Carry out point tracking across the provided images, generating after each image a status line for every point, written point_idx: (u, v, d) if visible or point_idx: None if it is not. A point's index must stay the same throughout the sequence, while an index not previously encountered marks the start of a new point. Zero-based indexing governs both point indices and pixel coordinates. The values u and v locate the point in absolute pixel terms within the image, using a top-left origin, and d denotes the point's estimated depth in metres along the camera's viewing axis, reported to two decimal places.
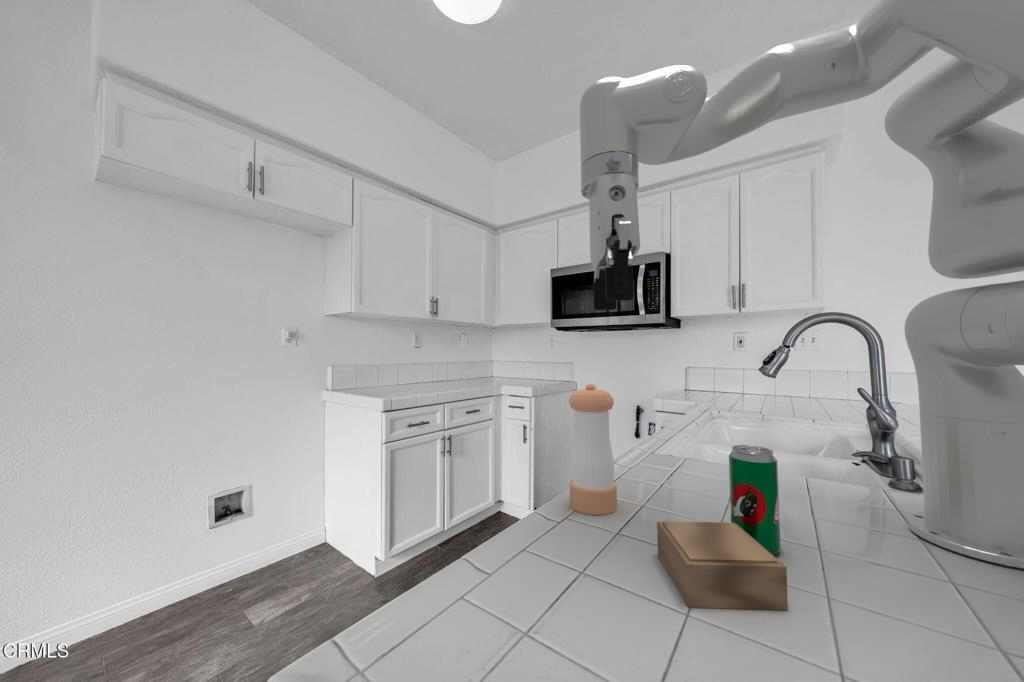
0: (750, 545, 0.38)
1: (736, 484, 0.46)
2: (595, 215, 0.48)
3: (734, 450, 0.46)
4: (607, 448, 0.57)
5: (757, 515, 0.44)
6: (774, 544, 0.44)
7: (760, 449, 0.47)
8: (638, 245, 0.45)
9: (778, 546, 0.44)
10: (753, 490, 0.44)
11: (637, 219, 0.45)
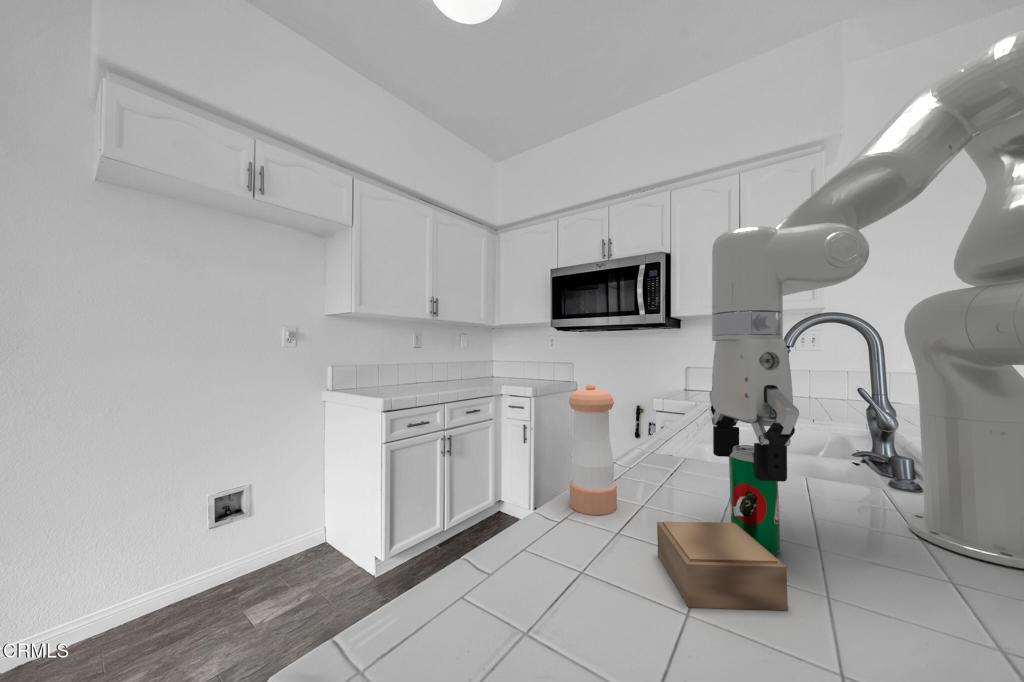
0: (750, 545, 0.38)
1: (736, 484, 0.46)
2: (738, 376, 0.44)
3: (734, 450, 0.46)
4: (607, 448, 0.57)
5: (757, 515, 0.44)
6: (774, 544, 0.44)
7: None
8: None
9: (778, 546, 0.44)
10: (753, 490, 0.44)
11: (791, 391, 0.42)
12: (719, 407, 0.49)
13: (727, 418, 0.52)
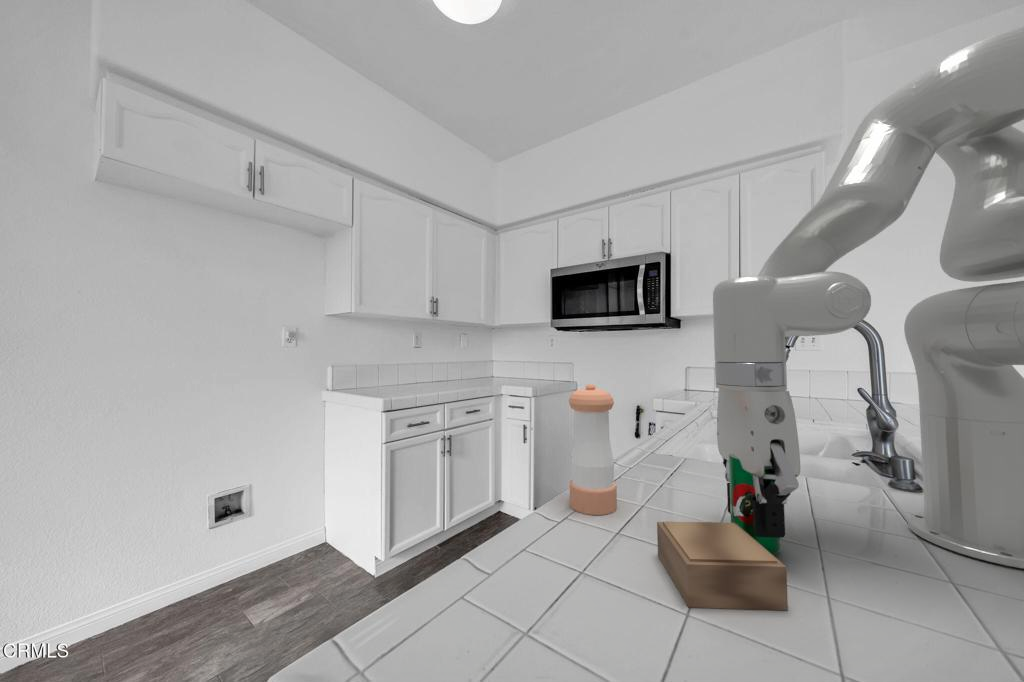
0: (750, 545, 0.38)
1: (736, 484, 0.46)
2: (743, 428, 0.44)
3: None
4: (607, 448, 0.57)
5: None
6: (774, 544, 0.44)
7: None
8: (799, 473, 0.41)
9: (778, 546, 0.44)
10: (753, 490, 0.44)
11: (798, 445, 0.41)
12: (725, 454, 0.49)
13: None
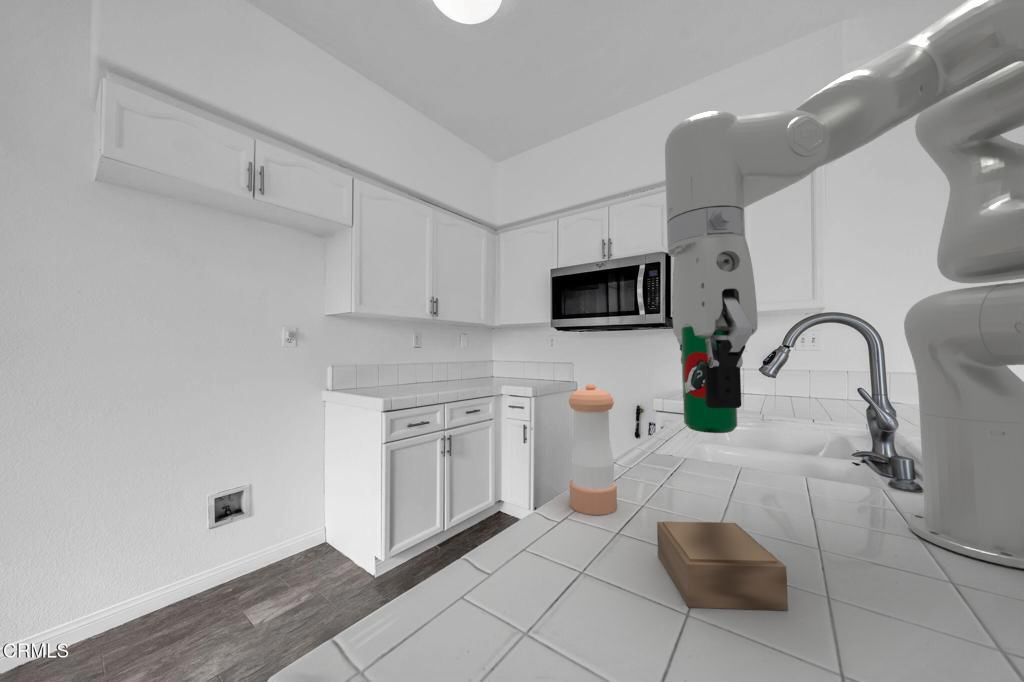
0: (750, 545, 0.38)
1: (687, 355, 0.40)
2: (694, 285, 0.38)
3: None
4: (607, 448, 0.57)
5: None
6: (729, 418, 0.38)
7: None
8: None
9: (734, 421, 0.38)
10: (705, 358, 0.38)
11: (754, 295, 0.36)
12: (679, 330, 0.43)
13: None
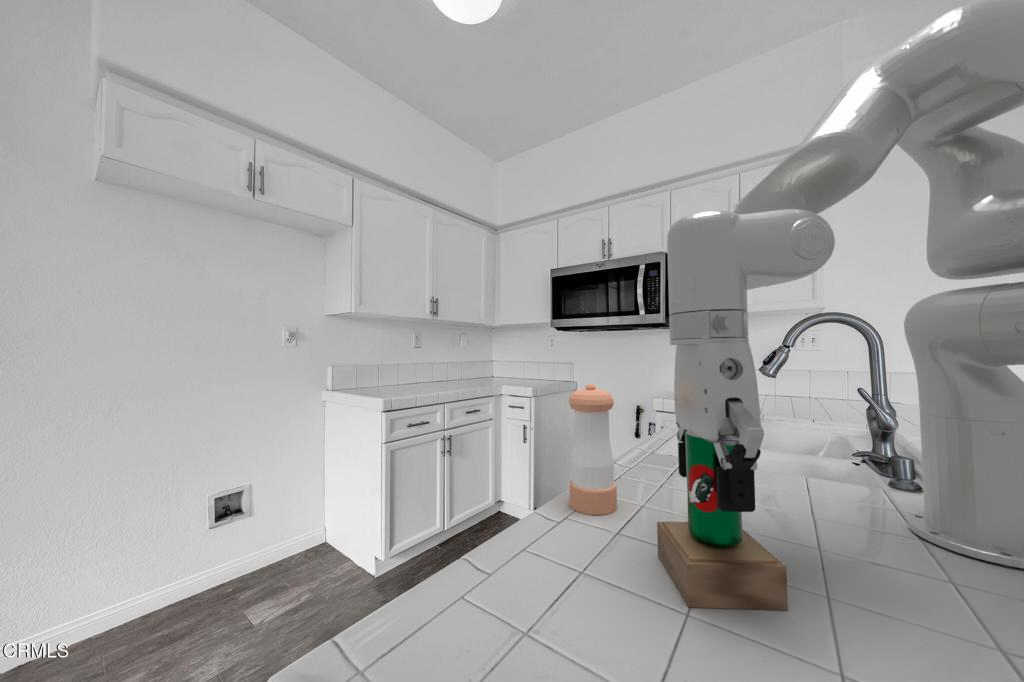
0: (750, 545, 0.38)
1: (691, 465, 0.39)
2: (697, 387, 0.38)
3: None
4: (607, 448, 0.57)
5: (714, 501, 0.38)
6: (734, 535, 0.37)
7: None
8: None
9: (739, 537, 0.38)
10: (710, 472, 0.38)
11: (758, 404, 0.35)
12: (681, 421, 0.42)
13: None
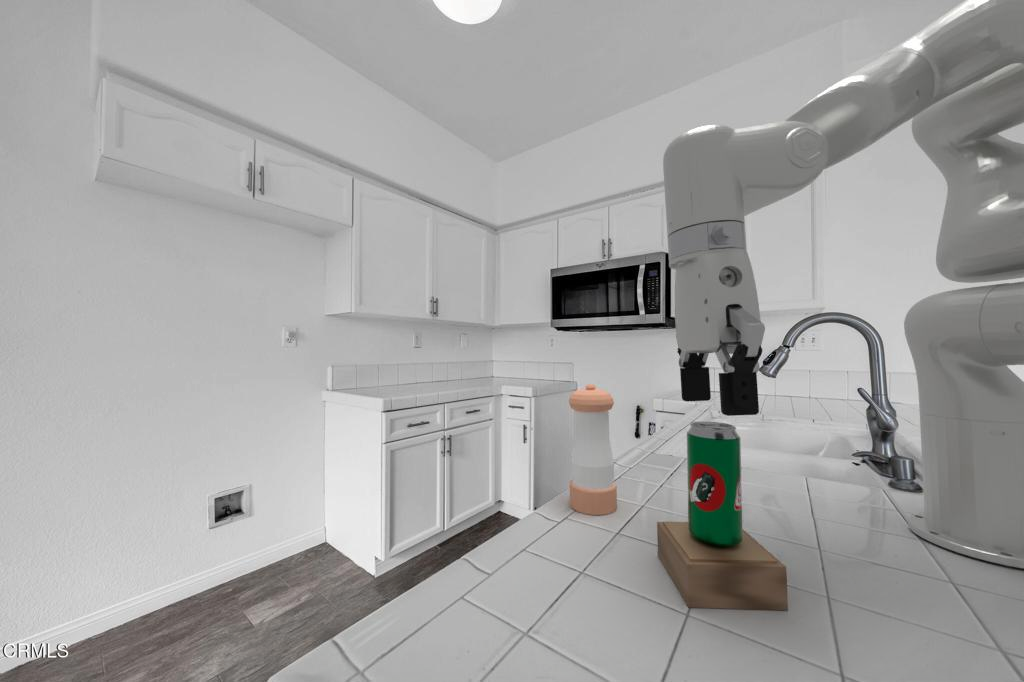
0: (750, 545, 0.38)
1: (692, 464, 0.39)
2: (697, 300, 0.38)
3: (692, 426, 0.40)
4: (607, 448, 0.57)
5: (715, 500, 0.38)
6: (734, 535, 0.37)
7: (722, 425, 0.41)
8: None
9: (739, 537, 0.38)
10: (711, 471, 0.38)
11: (758, 309, 0.36)
12: (683, 343, 0.43)
13: (695, 358, 0.46)
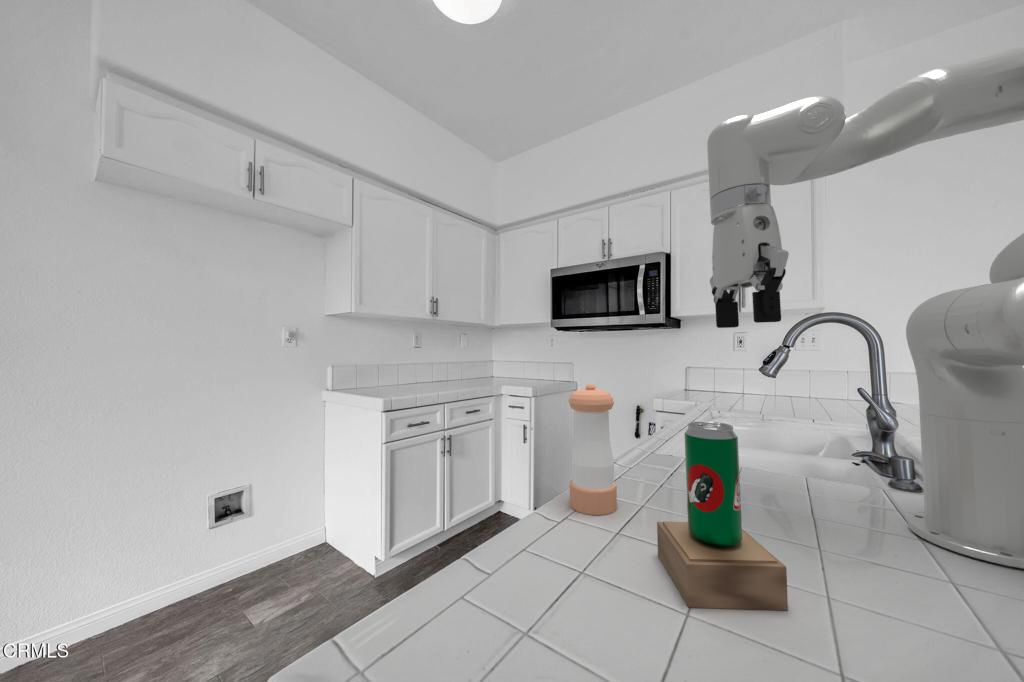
0: (750, 545, 0.38)
1: (691, 465, 0.39)
2: (735, 242, 0.52)
3: (689, 426, 0.40)
4: (607, 448, 0.57)
5: (714, 501, 0.38)
6: (734, 535, 0.37)
7: (720, 425, 0.41)
8: None
9: (739, 536, 0.38)
10: (709, 472, 0.38)
11: (781, 247, 0.49)
12: (720, 280, 0.56)
13: (727, 295, 0.59)
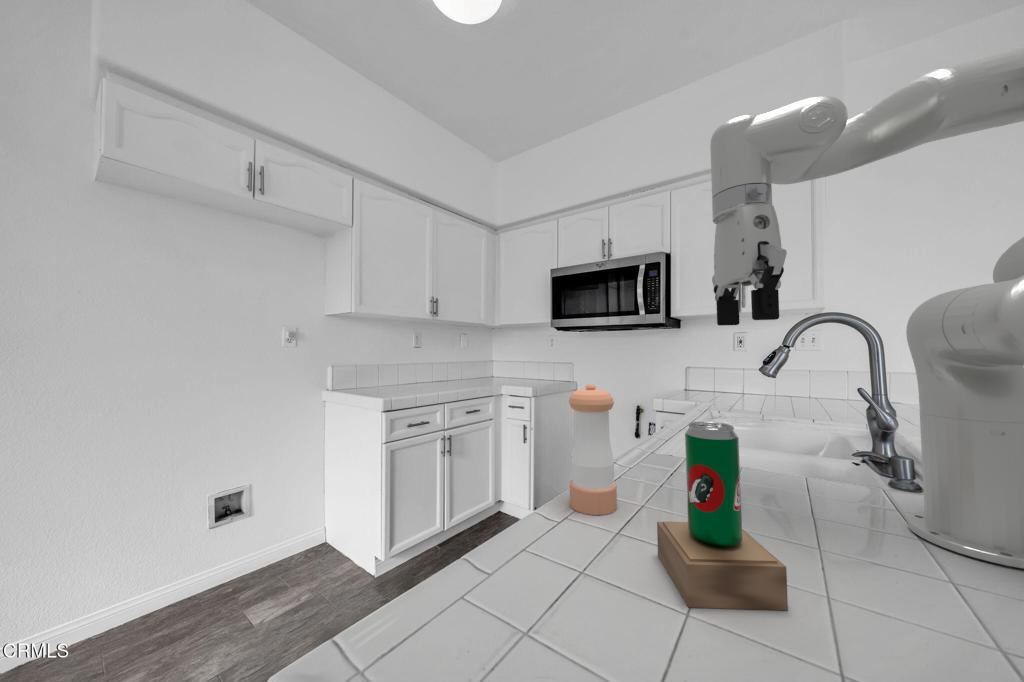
0: (750, 545, 0.38)
1: (691, 465, 0.39)
2: (735, 241, 0.52)
3: (690, 426, 0.40)
4: (607, 448, 0.57)
5: (714, 501, 0.38)
6: (734, 535, 0.37)
7: (720, 425, 0.40)
8: None
9: (739, 537, 0.38)
10: (709, 472, 0.38)
11: (780, 246, 0.50)
12: (721, 279, 0.57)
13: (728, 293, 0.60)
